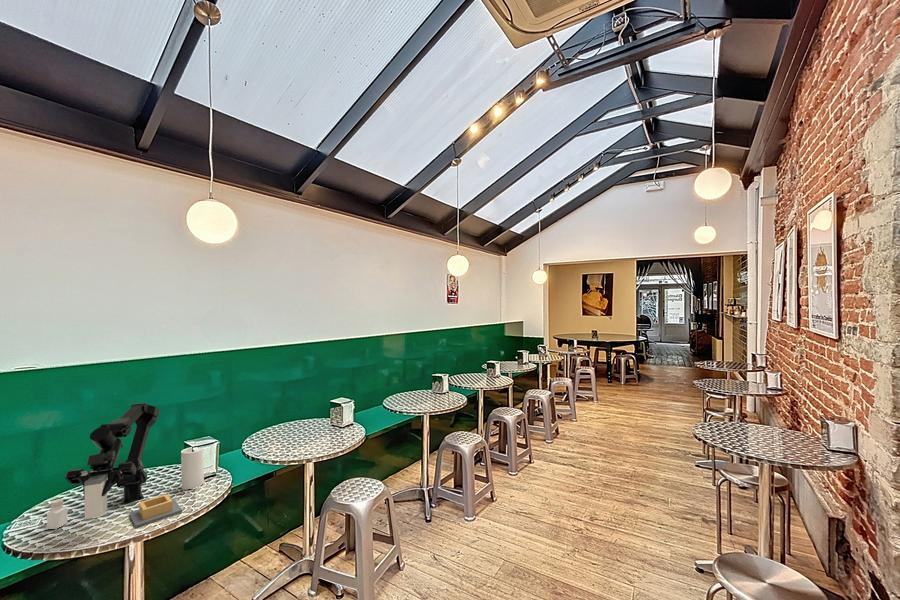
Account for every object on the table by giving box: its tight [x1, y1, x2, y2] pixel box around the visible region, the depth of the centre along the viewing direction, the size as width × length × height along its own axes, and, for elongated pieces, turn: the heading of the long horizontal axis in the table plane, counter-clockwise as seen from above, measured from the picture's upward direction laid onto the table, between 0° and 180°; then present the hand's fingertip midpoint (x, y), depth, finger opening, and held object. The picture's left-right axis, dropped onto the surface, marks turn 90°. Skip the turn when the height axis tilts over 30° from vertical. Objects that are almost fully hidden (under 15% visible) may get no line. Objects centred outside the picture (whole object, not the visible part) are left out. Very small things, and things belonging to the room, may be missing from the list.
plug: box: [84, 475, 108, 520], centre depth 134 cm, size 4×4×12 cm
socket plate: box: [128, 493, 183, 529], centre depth 147 cm, size 14×14×4 cm
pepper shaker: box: [46, 498, 68, 530], centre depth 140 cm, size 4×4×10 cm
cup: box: [180, 446, 205, 491], centre depth 170 cm, size 8×8×16 cm
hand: (94, 497), depth 133 cm, fingers closed on plug, 4 cm apart
